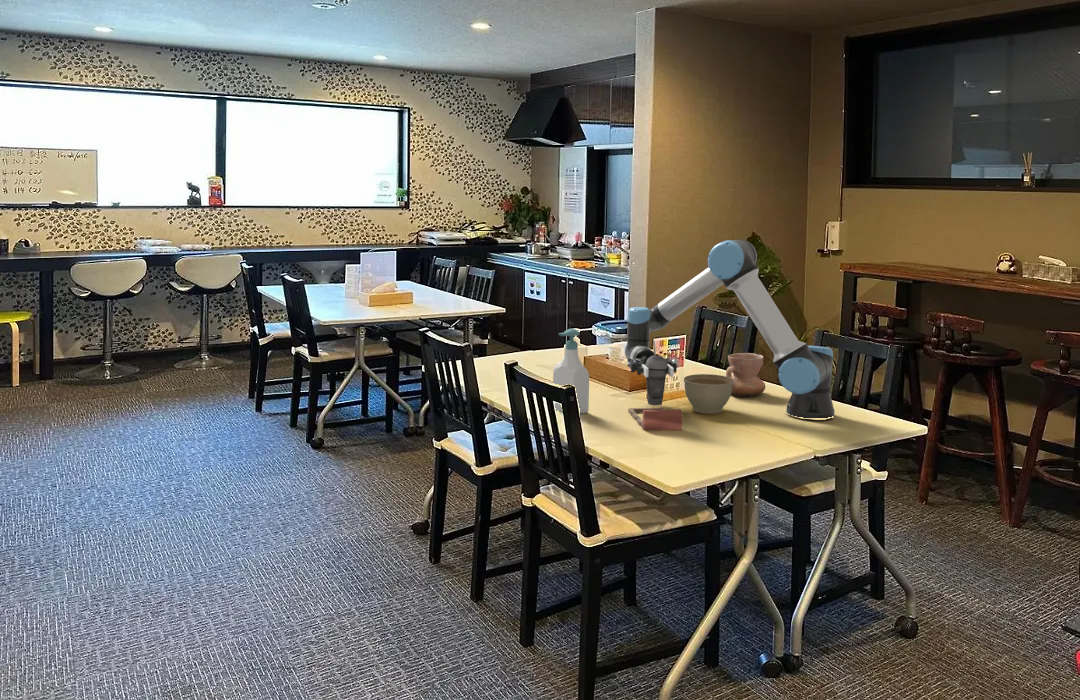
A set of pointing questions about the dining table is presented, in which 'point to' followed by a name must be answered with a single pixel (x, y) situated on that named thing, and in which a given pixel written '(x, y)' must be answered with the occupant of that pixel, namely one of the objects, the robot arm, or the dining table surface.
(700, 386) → the planter bowl
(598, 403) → the dining table surface
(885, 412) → the dining table surface
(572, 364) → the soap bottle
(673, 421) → the brown tray
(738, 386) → the ceramic jug
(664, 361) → the beverage cup
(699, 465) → the dining table surface
